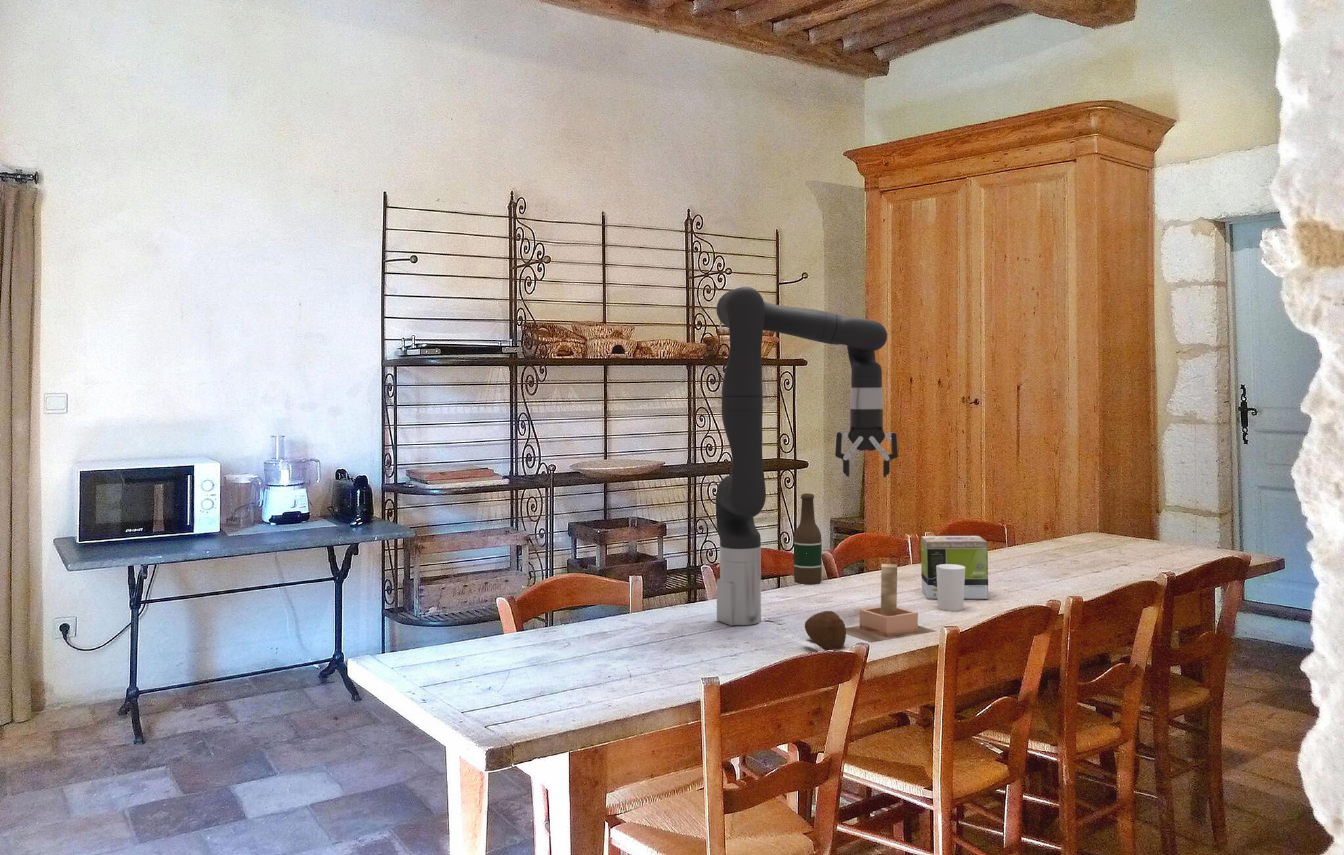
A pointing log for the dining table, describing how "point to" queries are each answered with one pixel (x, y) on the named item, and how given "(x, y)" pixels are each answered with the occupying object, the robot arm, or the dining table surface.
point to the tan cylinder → (888, 589)
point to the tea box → (956, 552)
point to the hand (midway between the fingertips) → (866, 476)
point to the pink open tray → (888, 621)
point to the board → (874, 637)
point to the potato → (826, 630)
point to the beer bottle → (807, 545)
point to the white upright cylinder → (950, 586)
